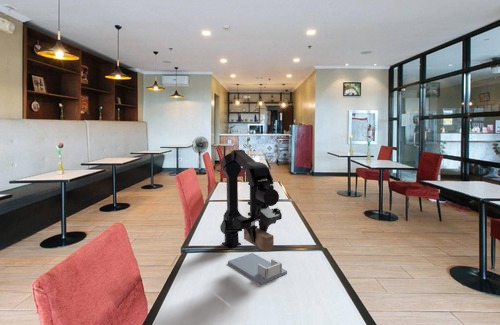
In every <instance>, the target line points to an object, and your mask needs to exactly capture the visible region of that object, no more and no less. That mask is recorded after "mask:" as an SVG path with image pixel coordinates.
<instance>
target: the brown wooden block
mask: <svg viewBox="0 0 500 325" xmlns="http://www.w3.org/2000/svg"><path fill="white" fill-rule="evenodd" d="M274 238H275V237H274V235H273V234H271V233H269V232H268V231H267V232H265V231H263V230H261V229H259V227H257V228H256V230H255V243H253V242H252V240H251V238H250V236H249V234H248V232H247V230H246V229H243V239H244V240H245V241H247V242H248V243H249V244H252V245H254V246H255V247H256V248H258V249H260V250H262V251H263V252H266V253H267V252H270V251H273V250H274V249H275V248H274Z"/></svg>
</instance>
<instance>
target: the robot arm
mask: <svg viewBox="0 0 500 325" xmlns="http://www.w3.org/2000/svg"><path fill="white" fill-rule="evenodd" d="M245 151H246V150H244V149H233V150H231V151H230V153H228V154H226V155H224V156H223V157H222V159H221V162H220V163H221V165H220V166H221V170H222V172H223V173H224V175H225V177H226V210H225V212H224V214H223V220H222V221H221V224H220V226H219V227H220V232H221V233H222V234H223V235H224V241H223V242H221V244H222V245H223V246H225V247H226V248H228V249H232V248H235V247H239V246H241V245H242V243H241V242H239V240H240V239H239V232H243V230H244V229H246V230H247V232H248V234H249V236H250V238H251V240H252V242H253V243H255V230H256V228H259V229H261V230H263V231H265V232H267V233H268V229H269V226H271V225H274V224H276V223H277V221H279V220H282V219H283V218H282V215H283V214H282V213H281V212H282V211H281V209H280V208H279V207H274V208H270V207H273V206H275V205H276V204H277V203H278V202H279V200H280V195H279V192H278V190H276V189H274V188H275V186H274V178H273V176H272V174H271V171H270V168H269V167H268V165H267V164H265V163H263V162H259V161H255V160H254V159H253V157H251V156H249V155H248V153H246V152H245ZM242 169H244V170H245V177H246V178H247V180H248V183H247V185H249V200H248V201H247V205H248V206H249V212H247V216H248V217H246V216H244V215H242V213H241V212H240V211H239V190H238V189H239V188H238V187H239V185H238V184H239V183H238V181H239V180H238V177H239V176H240V174H241V172H242ZM256 222H258V225H256Z"/></svg>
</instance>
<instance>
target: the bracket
mask: <svg viewBox="0 0 500 325" xmlns="http://www.w3.org/2000/svg"><path fill="white" fill-rule="evenodd" d="M227 264H228V265H230V266H232V268H234V269H236V270H238V271H239V272H241V273H243V274H244V275H245V276H247V277H249V278H251V279H252V280H254V281H255V282H257V283H258V284H260V285H263V284H266V283H268V282H270V281H273V280H275V279H278V278H279V277H282V276H285V275H287V274H288V270H286V269H285V268H283V263H282V262H281V261H278V260H276V259H274V258H271V259H270V261H269V260H267V259H265V258H263V257H261V256H260V255H257V254H256V253H254V252H251V253H248V254H245V255H241V256H238V257H236V258H233V259H230V260H228V261H227Z"/></svg>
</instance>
